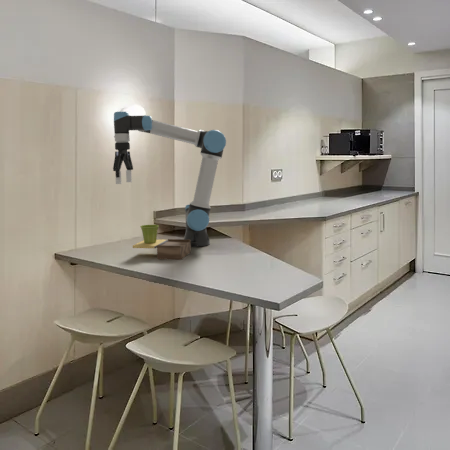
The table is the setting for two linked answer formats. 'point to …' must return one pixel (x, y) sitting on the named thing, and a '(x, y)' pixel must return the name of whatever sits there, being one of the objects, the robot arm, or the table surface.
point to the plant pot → (149, 233)
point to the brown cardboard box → (174, 249)
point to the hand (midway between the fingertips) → (124, 183)
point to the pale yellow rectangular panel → (149, 244)
